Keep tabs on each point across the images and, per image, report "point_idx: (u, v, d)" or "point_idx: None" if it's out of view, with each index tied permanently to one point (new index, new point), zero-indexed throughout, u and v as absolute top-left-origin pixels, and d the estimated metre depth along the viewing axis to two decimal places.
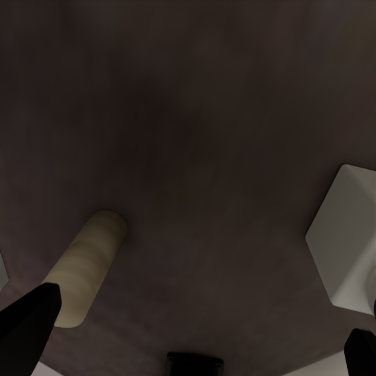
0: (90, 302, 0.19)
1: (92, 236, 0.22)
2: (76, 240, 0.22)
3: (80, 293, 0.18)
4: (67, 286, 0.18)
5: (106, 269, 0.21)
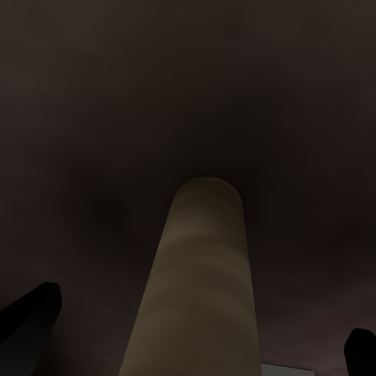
0: (205, 331, 0.06)
1: (158, 247, 0.11)
2: None
3: (146, 350, 0.06)
4: (121, 369, 0.07)
5: (205, 247, 0.09)
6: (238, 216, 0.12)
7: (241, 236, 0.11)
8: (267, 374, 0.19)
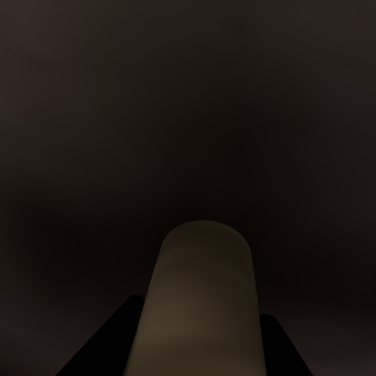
0: None
1: (134, 336, 0.08)
2: None
3: None
4: None
5: (200, 367, 0.06)
6: (248, 285, 0.08)
7: (254, 324, 0.07)
8: None
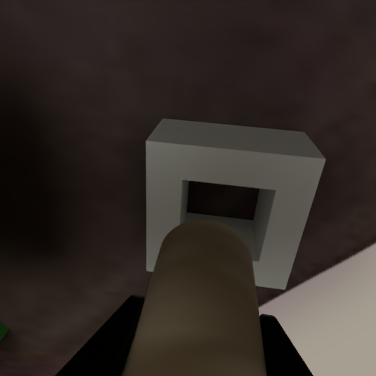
0: None
1: (134, 335, 0.08)
2: None
3: None
4: None
5: (199, 367, 0.06)
6: (248, 285, 0.08)
7: (253, 324, 0.07)
8: (254, 129, 0.18)
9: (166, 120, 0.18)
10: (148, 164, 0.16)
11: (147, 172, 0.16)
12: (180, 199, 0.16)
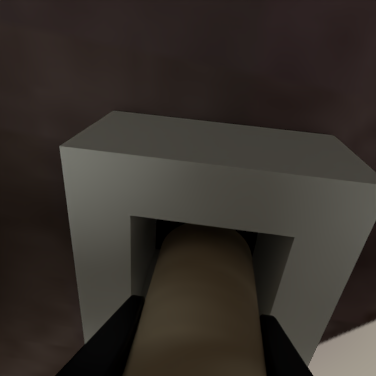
0: None
1: (134, 336, 0.08)
2: None
3: None
4: None
5: (200, 368, 0.06)
6: (248, 286, 0.08)
7: (254, 325, 0.07)
8: (255, 130, 0.11)
9: (117, 113, 0.12)
10: (68, 188, 0.09)
11: (69, 201, 0.09)
12: (129, 246, 0.10)
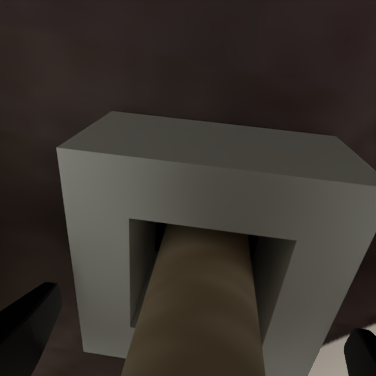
0: (207, 364, 0.06)
1: None
2: None
3: None
4: None
5: (206, 263, 0.08)
6: None
7: (244, 249, 0.10)
8: (256, 131, 0.11)
9: (116, 114, 0.12)
10: (65, 191, 0.09)
11: (66, 204, 0.09)
12: (128, 249, 0.09)
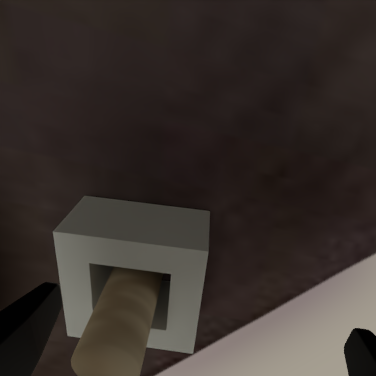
0: (113, 329, 0.15)
1: None
2: None
3: (86, 338, 0.14)
4: (76, 347, 0.15)
5: (126, 286, 0.17)
6: None
7: (153, 276, 0.19)
8: (163, 210, 0.20)
9: (86, 198, 0.20)
10: (57, 250, 0.17)
11: (57, 256, 0.17)
12: (90, 278, 0.18)
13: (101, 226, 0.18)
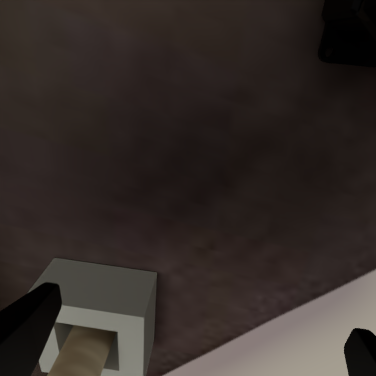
0: None
1: None
2: None
3: None
4: None
5: (81, 341, 0.22)
6: None
7: None
8: (117, 272, 0.24)
9: (55, 261, 0.25)
10: None
11: None
12: (55, 331, 0.23)
13: (62, 292, 0.22)
